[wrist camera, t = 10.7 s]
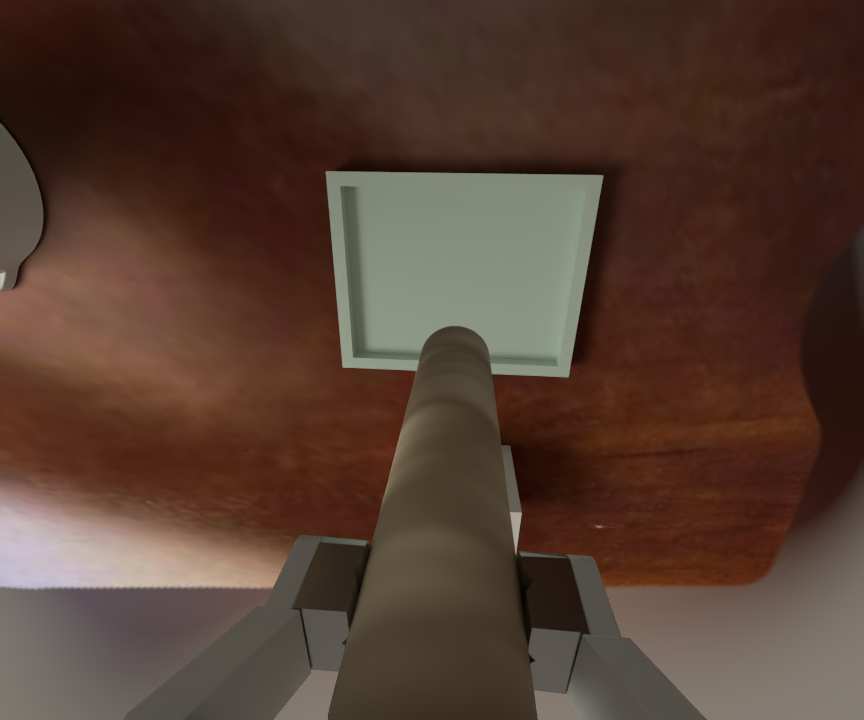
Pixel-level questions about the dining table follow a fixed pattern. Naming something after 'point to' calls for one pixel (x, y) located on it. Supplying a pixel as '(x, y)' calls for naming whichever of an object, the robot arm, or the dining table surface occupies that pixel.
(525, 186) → the tray
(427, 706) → the dowel
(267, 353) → the dining table surface
